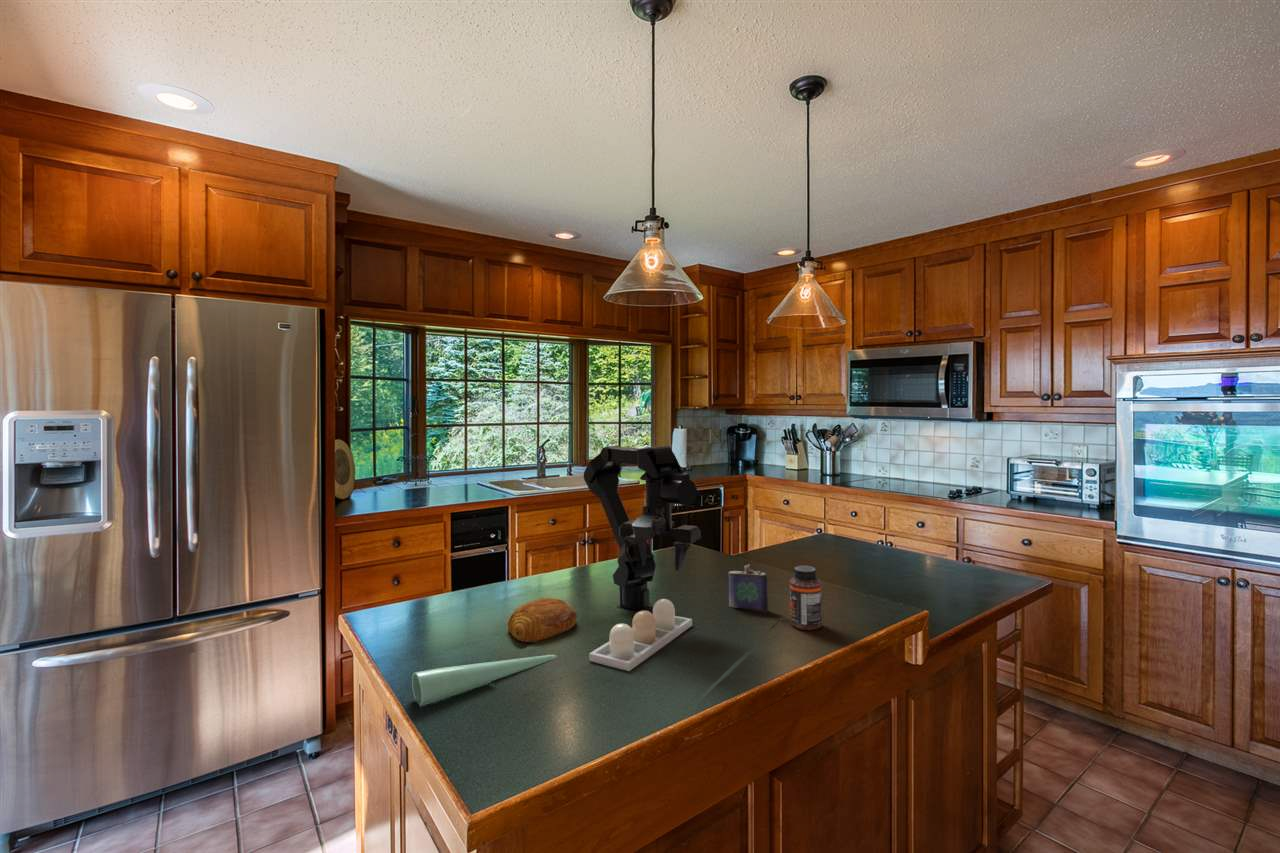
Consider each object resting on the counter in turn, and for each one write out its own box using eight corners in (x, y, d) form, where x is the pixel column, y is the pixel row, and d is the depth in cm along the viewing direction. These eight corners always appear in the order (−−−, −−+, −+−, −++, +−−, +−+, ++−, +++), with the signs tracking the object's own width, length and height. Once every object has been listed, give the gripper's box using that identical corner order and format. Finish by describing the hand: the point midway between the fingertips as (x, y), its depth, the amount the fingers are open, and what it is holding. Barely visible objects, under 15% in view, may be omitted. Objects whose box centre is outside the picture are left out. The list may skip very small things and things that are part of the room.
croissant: (587, 639, 130) (590, 602, 130) (528, 650, 119) (533, 611, 119) (549, 621, 140) (552, 588, 140) (492, 631, 129) (495, 594, 130)
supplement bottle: (785, 620, 132) (784, 564, 131) (814, 619, 132) (814, 563, 132) (796, 632, 125) (795, 572, 124) (826, 630, 125) (826, 571, 125)
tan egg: (640, 635, 123) (640, 605, 123) (660, 640, 121) (659, 609, 121) (628, 643, 119) (627, 612, 119) (648, 648, 117) (647, 616, 117)
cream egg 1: (605, 658, 112) (604, 626, 112) (618, 649, 116) (618, 618, 116) (625, 664, 110) (624, 630, 110) (639, 654, 114) (638, 622, 114)
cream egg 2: (649, 630, 126) (648, 601, 126) (660, 623, 130) (659, 594, 130) (668, 634, 124) (667, 604, 124) (679, 626, 128) (678, 598, 128)
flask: (728, 609, 140) (727, 565, 140) (730, 605, 143) (729, 562, 142) (767, 613, 137) (766, 568, 137) (768, 609, 140) (767, 564, 139)
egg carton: (589, 663, 112) (589, 653, 112) (656, 620, 133) (656, 612, 133) (629, 674, 107) (628, 663, 107) (692, 628, 129) (692, 619, 129)
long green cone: (562, 637, 112) (421, 678, 95) (563, 665, 112) (422, 712, 96) (549, 629, 116) (411, 668, 100) (550, 656, 116) (412, 699, 100)
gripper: (604, 503, 131) (606, 571, 132) (677, 509, 122) (679, 583, 122) (631, 496, 141) (633, 560, 141) (701, 501, 131) (702, 569, 131)
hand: (660, 568), depth 134 cm, fingers open, 9 cm apart
